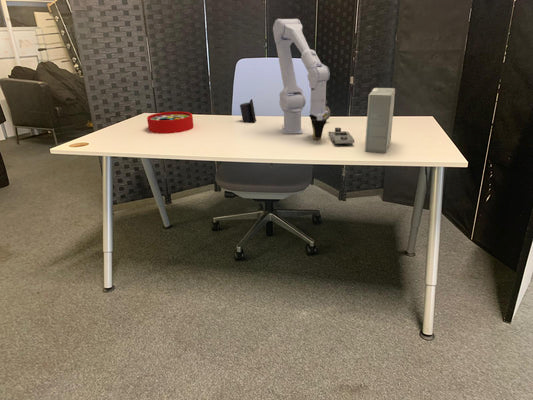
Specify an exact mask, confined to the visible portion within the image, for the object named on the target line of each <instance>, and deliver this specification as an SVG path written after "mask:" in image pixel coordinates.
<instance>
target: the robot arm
mask: <svg viewBox="0 0 533 400" xmlns="http://www.w3.org/2000/svg"><path fill="white" fill-rule="evenodd" d="M272 33H273V38H274V43H275V45H276V53H277V57H278V63H279V67H280V72H281V73H280V74H281V80H282V84H283V88H282V90H281V91H280V92H279V107H280V109H281V110H282V112H283V127H282V133H283V135H284V134H285V135H286V134H288V135H290V134H291V135H292V134H293V135H294V134H295V135H296V134H303V129H302V111H303V109H304V108H305V106H306V97H305V95H304V92H303V89H302V88H300V87H299V86H298V84H297V79H296V73H295V69H294V62H293V58H292V57H293V56H292V52H291V51H292V50H291V45H292V44H293V43H294V45H295V46H296V48H297V49H298V50H299V52H300V53H301V56H300V60H301V61H302V64H303V65H304V67H305V68H306V70H307V72H308V74H307V79H308V83H309V87H310V88H309V89H310V102H309V105H310V111H309V115H308V117H309V118H310V121H311V126H312V128H313V126H314V132H315V137H316V138H321V139H322V135H323V131H324V127H325V125H326V124H327V121H328V119H327V120H322V119H323V116H324V115H325V114H326V113H328V111H325V106H326V104H327V99H326V98H327V97H326V96H327V82H328V81H329V80H330V75H331V72H330V69H329V67H328V66H327V65H325V64H323V63H322V62H321V60H320V58H319V57H318V54H317V53H316V50H314V49H311V48H310V46H309V44H308V42H307V40H306V37H305V35H304V34H303V24H302V22H301V20H300V19H298V18H277V19H275V21H274V24H273V27H272ZM325 103H326V104H325ZM326 115H327V114H326Z"/></svg>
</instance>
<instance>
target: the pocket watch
mask: <svg viewBox="0 0 533 400" xmlns="http://www.w3.org/2000/svg"><path fill="white" fill-rule="evenodd" d="M326 104H327V102H326V103H325V111H328V113H326V114H325V115H324V116H323V119H322V120H327V121H328V119H330V117H331V110H330V107H328V106H327V105H326Z"/></svg>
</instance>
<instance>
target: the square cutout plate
mask: <svg viewBox="0 0 533 400" xmlns="http://www.w3.org/2000/svg"><path fill="white" fill-rule="evenodd" d="M327 133H328V137H329V138H330V140H331V142H332V144H333V143H334V144H339V145H340V146H341V147H345V146H346V147H347V146H348V144H355V138H354V137H353V136H352V135H351V133H350V132H349V131H345V130H343V131H342V128H341V127H334V131H328V132H327Z"/></svg>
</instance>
